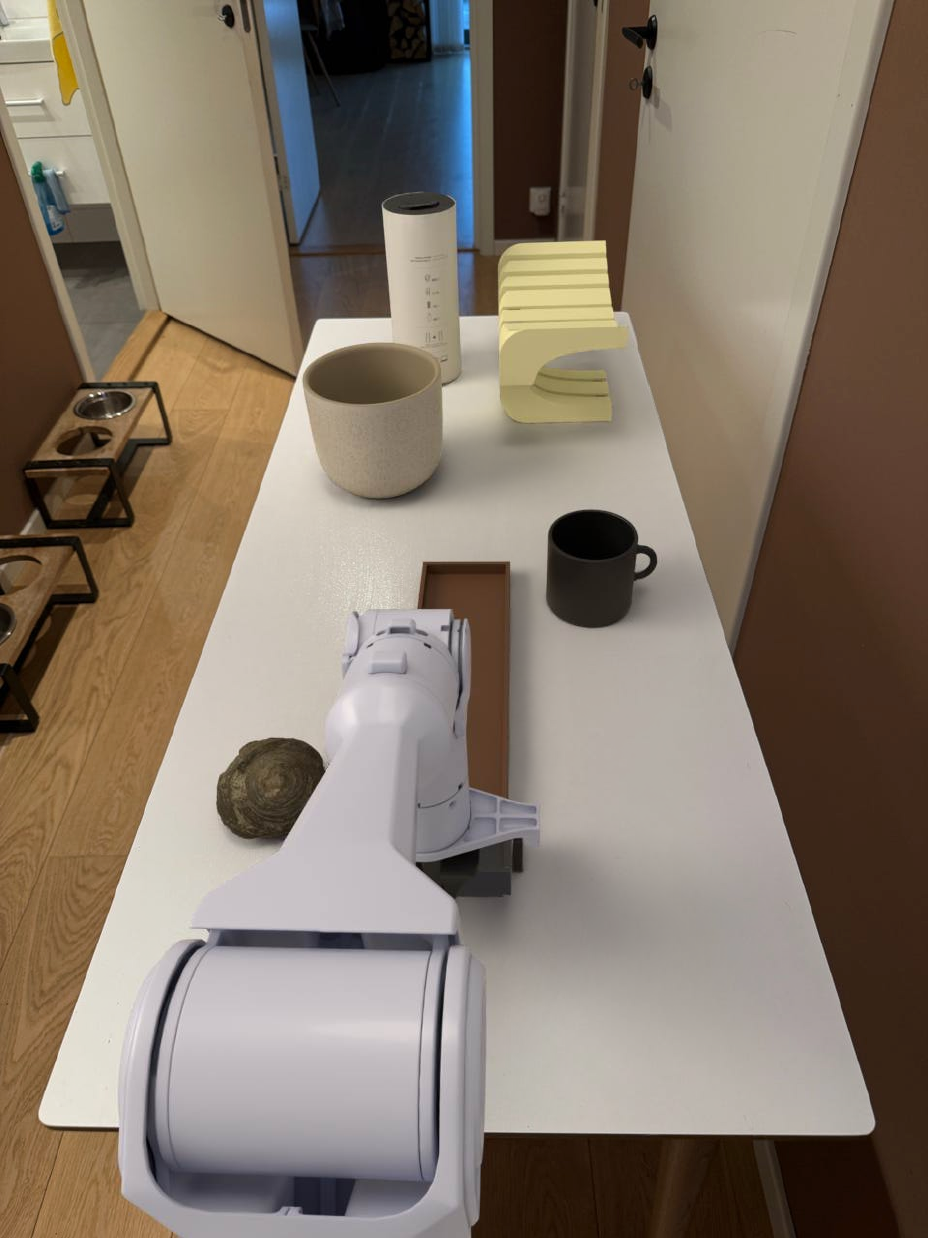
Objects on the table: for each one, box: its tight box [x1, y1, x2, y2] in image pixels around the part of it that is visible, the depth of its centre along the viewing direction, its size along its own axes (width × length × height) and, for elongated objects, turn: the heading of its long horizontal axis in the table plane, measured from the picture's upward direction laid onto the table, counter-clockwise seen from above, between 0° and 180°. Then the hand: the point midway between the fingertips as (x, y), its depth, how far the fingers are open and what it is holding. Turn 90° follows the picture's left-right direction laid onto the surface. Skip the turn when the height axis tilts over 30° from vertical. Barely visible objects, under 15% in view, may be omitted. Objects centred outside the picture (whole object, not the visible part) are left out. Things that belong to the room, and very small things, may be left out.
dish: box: [422, 839, 513, 899], centre depth 70 cm, size 15×11×4 cm
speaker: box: [381, 191, 463, 386], centre depth 137 cm, size 11×10×26 cm
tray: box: [416, 560, 511, 799], centre depth 92 cm, size 39×10×2 cm, turn 177°
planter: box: [301, 342, 444, 499], centre depth 118 cm, size 17×17×15 cm
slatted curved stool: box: [497, 239, 629, 424], centre depth 131 cm, size 30×16×18 cm, turn 179°
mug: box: [545, 508, 658, 628], centre depth 100 cm, size 9×12×9 cm
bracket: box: [512, 838, 524, 873], centre depth 77 cm, size 2×13×4 cm, turn 88°
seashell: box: [215, 715, 326, 840], centre depth 80 cm, size 11×12×10 cm
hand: (434, 894), depth 65 cm, fingers closed on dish, 2 cm apart
